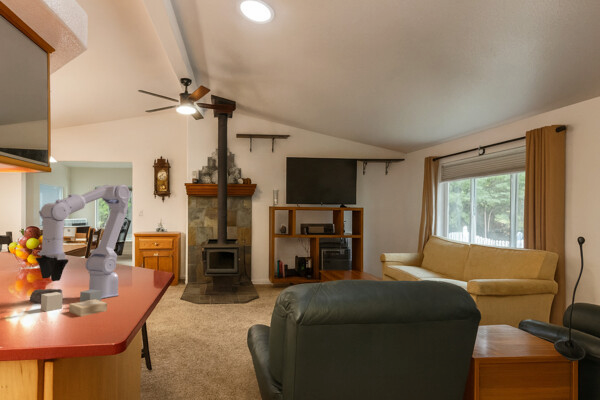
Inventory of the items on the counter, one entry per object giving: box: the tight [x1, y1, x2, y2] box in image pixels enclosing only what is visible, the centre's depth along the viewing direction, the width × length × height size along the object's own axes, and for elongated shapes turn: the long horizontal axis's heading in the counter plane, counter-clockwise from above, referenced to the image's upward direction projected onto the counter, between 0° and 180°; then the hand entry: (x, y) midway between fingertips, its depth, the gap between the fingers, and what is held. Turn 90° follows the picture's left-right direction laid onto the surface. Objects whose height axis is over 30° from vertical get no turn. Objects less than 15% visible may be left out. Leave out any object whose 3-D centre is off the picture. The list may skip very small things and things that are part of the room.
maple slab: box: [68, 299, 108, 317], centre depth 114 cm, size 8×8×3 cm
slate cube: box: [79, 289, 102, 302], centre depth 122 cm, size 4×4×5 cm
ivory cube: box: [40, 292, 64, 313], centre depth 116 cm, size 4×4×5 cm
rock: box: [29, 288, 63, 304], centre depth 127 cm, size 9×11×4 cm
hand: (50, 279), depth 116 cm, fingers open, 7 cm apart
